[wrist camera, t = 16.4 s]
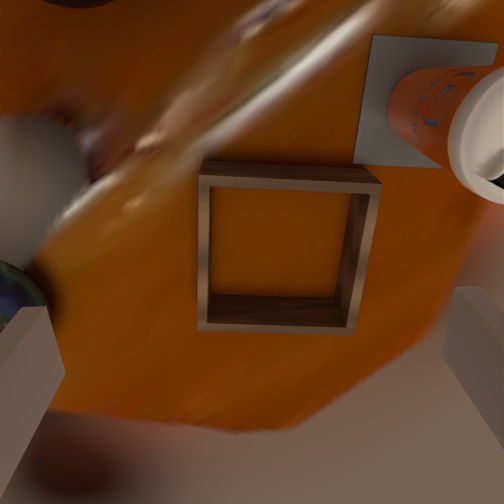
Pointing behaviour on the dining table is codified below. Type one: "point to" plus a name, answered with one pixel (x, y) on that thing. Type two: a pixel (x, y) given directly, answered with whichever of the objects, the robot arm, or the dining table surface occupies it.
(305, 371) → the dining table surface
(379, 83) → the slate board
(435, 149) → the shaker bottle
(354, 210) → the square wooden frame
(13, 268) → the vase
